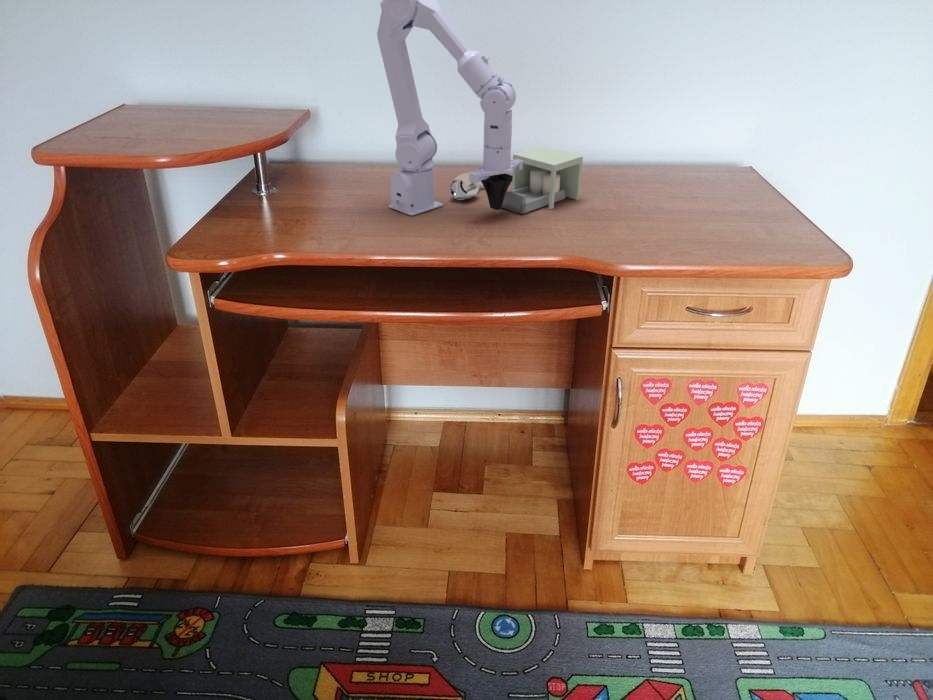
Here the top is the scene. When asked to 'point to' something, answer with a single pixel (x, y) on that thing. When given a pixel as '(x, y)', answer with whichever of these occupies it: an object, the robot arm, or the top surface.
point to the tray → (533, 193)
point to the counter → (550, 170)
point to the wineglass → (464, 187)
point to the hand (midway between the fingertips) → (495, 208)
